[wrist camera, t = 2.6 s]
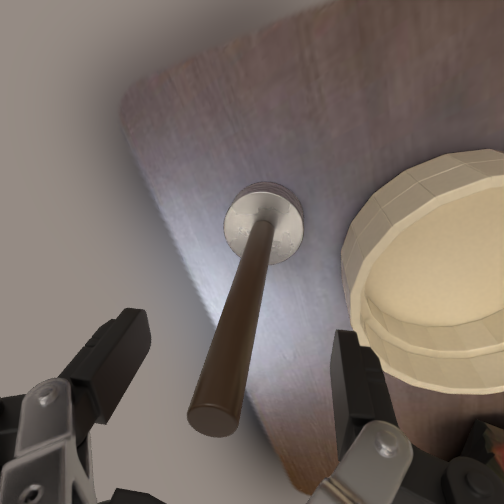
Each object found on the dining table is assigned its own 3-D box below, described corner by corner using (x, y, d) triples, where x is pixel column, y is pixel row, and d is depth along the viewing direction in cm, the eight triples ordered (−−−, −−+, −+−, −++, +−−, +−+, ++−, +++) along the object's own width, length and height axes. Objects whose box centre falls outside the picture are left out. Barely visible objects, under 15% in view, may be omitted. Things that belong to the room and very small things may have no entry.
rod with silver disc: (215, 215, 24) (89, 405, 10) (267, 165, 22) (201, 321, 7) (265, 262, 26) (217, 490, 11) (319, 221, 23) (346, 441, 9)
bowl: (299, 245, 24) (299, 289, 19) (502, 91, 18) (585, 94, 13) (410, 358, 28) (435, 421, 23) (610, 266, 22) (708, 323, 16)
